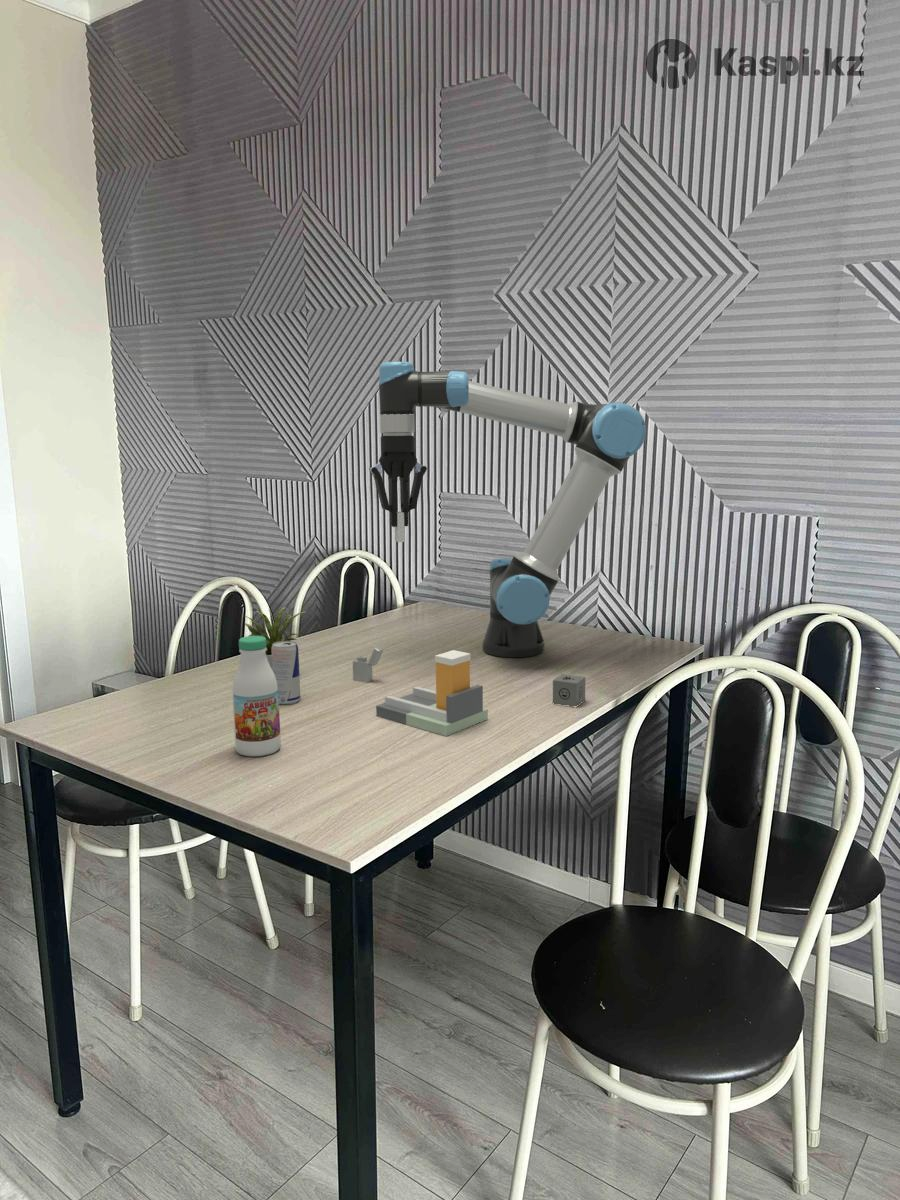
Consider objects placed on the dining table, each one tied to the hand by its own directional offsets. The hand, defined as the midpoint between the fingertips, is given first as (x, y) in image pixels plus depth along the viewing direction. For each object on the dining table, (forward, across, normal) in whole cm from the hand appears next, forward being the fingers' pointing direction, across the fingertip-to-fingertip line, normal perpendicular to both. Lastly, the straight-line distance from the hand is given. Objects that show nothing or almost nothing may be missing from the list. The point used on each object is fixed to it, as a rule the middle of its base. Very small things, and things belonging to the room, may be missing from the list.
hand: (399, 541), depth 200 cm
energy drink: (+30, +29, +16) cm, 44 cm away
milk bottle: (+30, +38, +42) cm, 64 cm away
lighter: (+30, +10, +8) cm, 32 cm away
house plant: (+30, +28, -2) cm, 41 cm away
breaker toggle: (+27, +2, +41) cm, 49 cm away
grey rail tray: (+29, +4, +36) cm, 47 cm away
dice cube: (+30, -24, +37) cm, 53 cm away
